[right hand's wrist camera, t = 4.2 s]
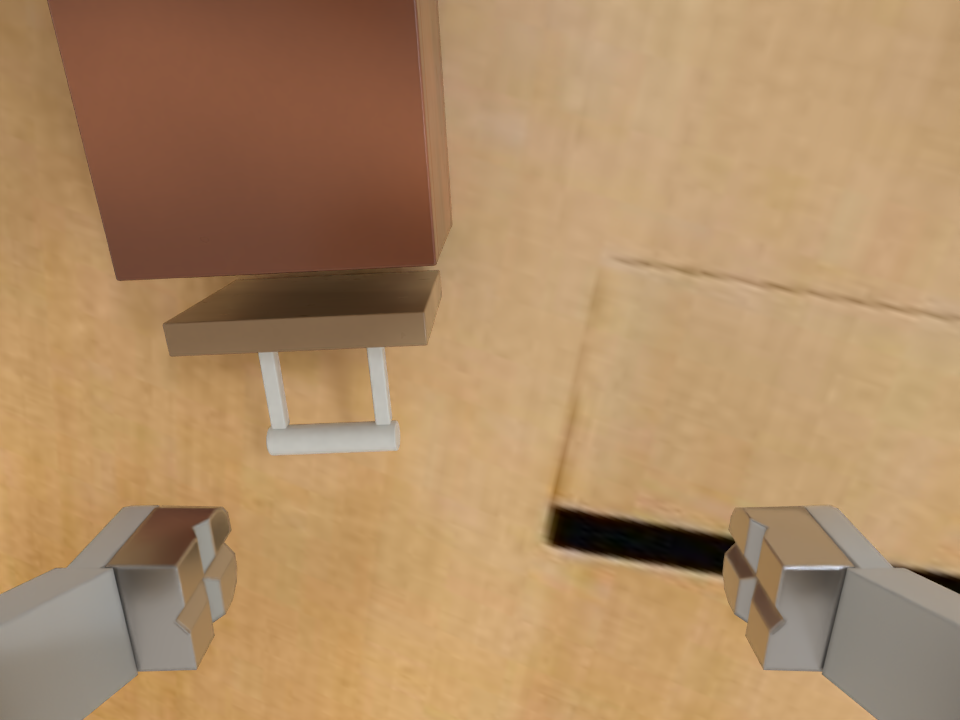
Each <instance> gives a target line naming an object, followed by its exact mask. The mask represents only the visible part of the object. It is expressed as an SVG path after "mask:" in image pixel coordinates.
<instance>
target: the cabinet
mask: <svg viewBox="0 0 960 720" xmlns="http://www.w3.org/2000/svg"><path fill="white" fill-rule="evenodd" d="M47 1H48V5H49V9H50V13H51V17H52V21H53V25H54V29H55V33H56V37H57V41H58V45H59V49H60V53H61V57H62V61H63V65H64V69H65V73H66V77H67V82H68V86H69V90H70V94H71V98H72V102H73V106H74V110H75V114H76V118H77V122H78V126H79V130H80V134H81V138H82V142H83V146H84V150H85V154H86V158H87V162H88V166H89V170H90V174H91V178H92V182H93V186H94V190H95V194H96V198H97V202H98V206H99V210H100V214H101V218H102V222H103V226H104V230H105V234H106V238H107V242H108V247H109V251H110V255H111V259H112V263H113V267H114V271H115V275H116V279H117V280H119V281H127V280H148V279H168V278H189V277H210V276H230V275H251V274H272V273H292V272H313V271H334V270H354V269H375V268H396V267H416V266H435V265H436V264H437V261H438V258H439V256H440V253H441V251H442V248H443V246H444V243H445V241H446V238H447V236H448V233H449V231H450V228H451V226H452V212H451V197H450V182H449V167H448V152H447V137H446V122H445V106H444V91H443V76H442V61H441V46H440V31H439V15H438V0H47Z"/></svg>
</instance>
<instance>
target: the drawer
mask: <svg viewBox="0 0 960 720" xmlns="http://www.w3.org/2000/svg"><path fill="white" fill-rule="evenodd" d="M375 269H376V268H375ZM189 278H191V277H189ZM441 297H442V293H441V280H440V271H439V270H433V271H412V272H391V273H371V274H350V275H329V276H308V277H287V278H267V279H246V280H235V281H234V282H232V283H230V284H229V285H227V286H225V287H224V288H222V289H220V290H219V291H217V292H215V293H214V294H212V295H210V296H209V297H207V298H205V299H204V300H202V301H200V302H199V303H197V304H195V305H194V306H192V307H190V308H189V309H187V310H185V311H184V312H182V313H180V314H179V315H177V316H175V317H174V318H172V319H170V320H169V321H167V322H165V323H164V324H163V328H164V332H165V336H166V341H167V345H168V349H169V354H170V356H194V355H217V354H240V353H258V354H259V360H260V366H261V371H262V377H263V382H264V388H265V393H266V399H267V405H268V410H269V416H270V421H271V426H270V427H269V429H268V432H267V449H268V452H269V454H270V455H298V454H323V453H349V452H375V451H397V450H398V449H399V446H400V428H399V423H398V421H396V420H394V421H391V420H392V411H391V402H390V393H389V384H388V375H387V365H386V356H385V347H398V346H421V345H427V344H428V341H429V337H430V334H431V331H432V327H433V324H434V320H435V317H436V314H437V310H438V307H439V303H440V300H441ZM353 348H367V355H368V363H369V372H370V380H371V389H372V397H373V405H374V414H375V421H369V422H344V423H319V424H294V425H289V423H290V421H289V415H288V409H287V403H286V397H285V391H284V385H283V379H282V373H281V367H280V361H279V355H278V352H285V351H307V350H330V349H353Z"/></svg>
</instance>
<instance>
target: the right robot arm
mask: <svg viewBox="0 0 960 720" xmlns="http://www.w3.org/2000/svg"><path fill="white" fill-rule="evenodd" d="M230 532H231V526H230V521H229V515H228V512H227V511H226V510H225V509H224V508H223V507H211V506H158V505H131V506H127V507H123V508H122V509H121V510H120V511H119V512H118V513H117V515H116V516H115V517H114V518H113V519H112V520H111V521H110V522H109V523H108V524H107V525H106V526H105V527H104V528H103V529H102V530H101V532H100V533H99V534H98V535H97V536H96V537H95V538H94V539H93V540H92V541H91V542H90V543H89V544H88V545H87V546H86V547H85V549H84V550H83V551H82V552H81V553H80V554H79V555H78V556H77V557H76V558H75V559H74V560H73V561H72V562H71V563H70V564H69V566H68V567H67V568H55V569H53V570H51V571H48V572H46V573H44V574H42V575H40V576H38V577H36V578H34V579H32V580H29V581H27V582H25V583H23V584H21V585H19V586H17V587H15V588H13V589H10V590H8V591H6V592H4V593H2V594H0V720H83V719H84V718H85V717H86V716H88V715H89V714H90V713H91V712H93V711H94V710H95V709H96V708H97V707H99V706H100V705H101V704H102V703H104V702H105V701H106V700H107V699H109V698H110V697H111V696H112V695H113V694H115V693H116V692H117V691H118V690H120V689H121V688H122V687H123V686H124V685H126V684H127V683H128V682H129V681H131V680H132V679H133V678H134V677H136V676H137V675H138V672H137V671H172V670H197V668H198V666H199V664H200V662H201V660H202V658H203V657H204V655H205V653H206V651H207V649H208V647H209V645H210V643H211V641H212V639H213V638H214V636H215V635H214V629H213V622H215V621H216V620H218V619H219V618H221V617H222V616H223V615H225V614H226V612H227V610H228V608H229V606H230V604H231V602H232V600H233V596H234V591H235V587H236V583H237V563H236V556H235V553H234V552H233V551H232V550H231V549H230V548H229V547H228V546H227V545H226V544H225V543H224V542H225V540H226V538H227V537H228V535H229V533H230ZM729 532H730V533H731V535H732V537H733V538H734V540H735V542H736V543H735V544H734V545H733V546H732V547H731V548H730V549H729V550H728V551H727V552H726V553H725V557H724V565H723V580H724V589H725V593H726V596H727V599H728V602H729V604H730V606H731V608H732V610H733V612H734V614H735V615H737V616H738V617H739V618H741V619H742V620H744V621H745V622H747V629H746V635H745V636H746V638H747V639H748V641H749V643H750V645H751V647H752V649H753V651H754V653H755V655H756V656H757V658H758V660H759V662H760V664H761V666H762V668H763V670H787V671H823V672H822V675H824V676H825V677H826V678H827V679H828V680H830V681H831V682H832V683H833V684H835V685H836V686H837V687H838V688H839V689H841V690H842V691H843V692H844V693H846V694H847V695H848V696H849V697H851V698H852V699H853V700H854V701H855V702H857V703H858V704H859V705H860V706H862V707H863V708H864V709H865V710H866V711H868V712H869V713H870V714H871V715H873V716H874V717H875V718H876V719H877V720H960V594H958V593H956V592H954V591H951V590H949V589H947V588H945V587H943V586H941V585H939V584H937V583H935V582H933V581H930V580H928V579H926V578H924V577H922V576H920V575H918V574H916V573H914V572H912V571H909V570H907V569H905V568H893V567H892V566H891V564H890V563H889V562H888V561H887V560H886V559H885V558H884V557H883V556H882V555H881V554H880V553H879V552H878V551H877V550H876V549H875V547H874V546H873V545H872V544H871V543H870V542H869V541H868V540H867V539H866V538H865V537H864V536H863V535H862V534H861V533H860V531H859V530H858V529H857V528H856V527H855V526H854V525H853V524H852V523H851V522H850V521H849V520H848V519H847V518H846V517H845V516H844V514H843V513H842V512H841V511H840V510H839V509H838V508H836V507H833V506H831V505H812V506H791V507H747V508H735V509H734V511H733V513H732V515H731V519H730V525H729Z"/></svg>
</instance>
